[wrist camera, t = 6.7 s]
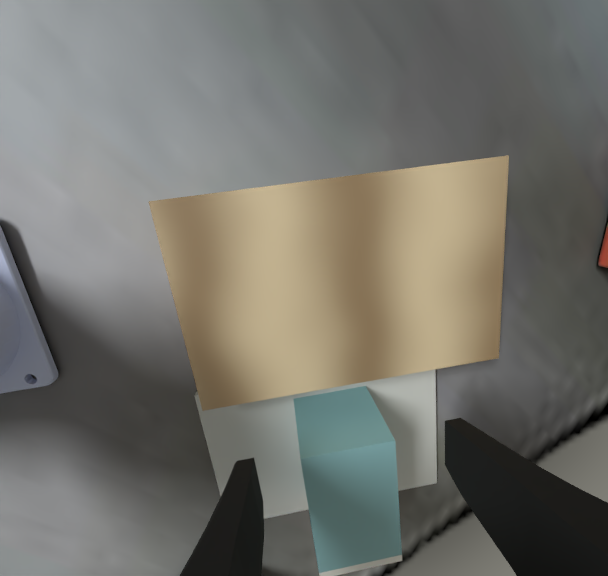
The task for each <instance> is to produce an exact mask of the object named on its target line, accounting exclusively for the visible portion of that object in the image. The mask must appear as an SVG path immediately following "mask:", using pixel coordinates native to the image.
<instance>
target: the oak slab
mask: <svg viewBox="0 0 608 576" xmlns="http://www.w3.org/2000/svg"><path fill="white" fill-rule="evenodd" d="M508 162H509V156H501V157H493V158H485V159H477V160H470V161H462V162H454V163H446V164H438V165H431V166H423V167H415V168H407V169H399V170H391V171H384V172H376V173H368V174H360V175H352V176H345V177H337V178H329V179H321V180H313V181H306V182H298V183H290V184H282V185H274V186H266V187H259V188H251V189H243V190H235V191H227V192H220V193H212V194H204V195H196V196H188V197H181V198H173V199H165V200H157V201H149V205H150V209H151V213H152V217H153V221H154V225H155V229H156V232H157V236H158V240H159V244H160V248H161V252H162V256H163V260H164V263H165V267H166V271H167V275H168V279H169V283H170V287H171V291H172V294H173V298H174V302H175V306H176V310H177V314H178V318H179V322H180V325H181V329H182V333H183V337H184V341H185V345H186V349H187V353H188V356H189V360H190V364H191V368H192V372H193V376H194V380H195V384H196V387H197V391H198V395H199V399H200V403H201V407H202V411H205V410H210V409H216V408H222V407H227V406H233V405H238V404H244V403H250V402H255V401H261V400H266V399H272V398H278V397H283V396H289V395H294V394H300V393H306V392H311V391H317V390H322V389H328V388H334V387H339V386H345V385H350V384H356V383H362V382H367V381H373V380H379V379H384V378H390V377H395V376H401V375H407V374H412V373H418V372H423V371H429V370H435V369H440V368H446V367H451V366H457V365H463V364H468V363H474V362H479V361H485V360H491V359H496V358H499V342H500V322H501V302H502V282H503V262H504V242H505V222H506V202H507V182H508Z"/></svg>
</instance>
